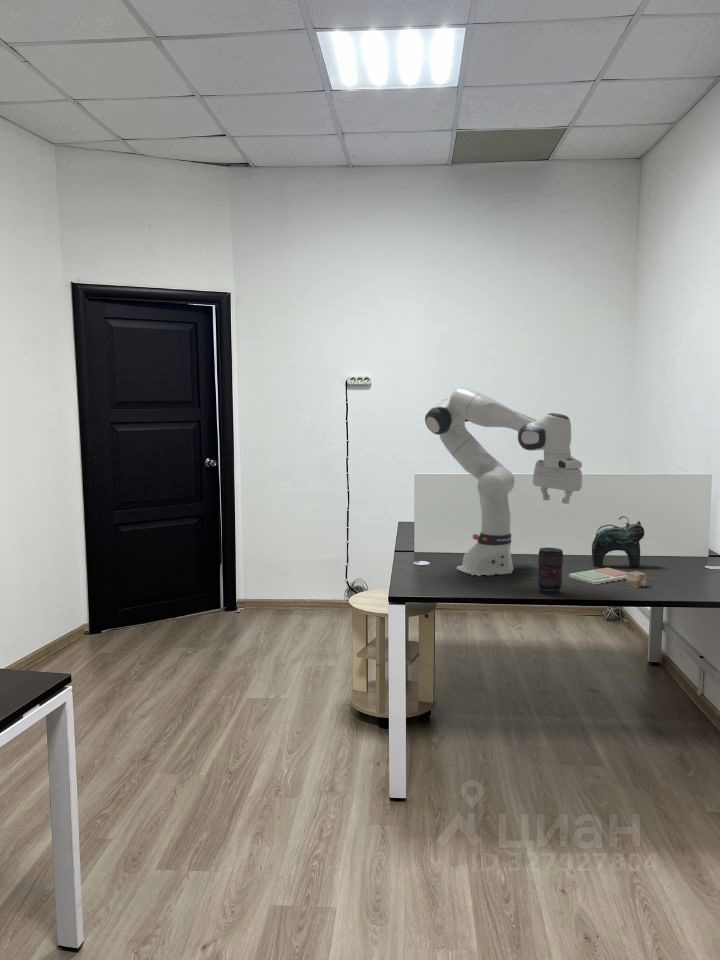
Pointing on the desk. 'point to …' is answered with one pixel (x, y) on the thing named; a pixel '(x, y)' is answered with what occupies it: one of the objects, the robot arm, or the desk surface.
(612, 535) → the ceramic cat
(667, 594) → the desk surface
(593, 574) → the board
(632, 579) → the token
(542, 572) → the camera lens
